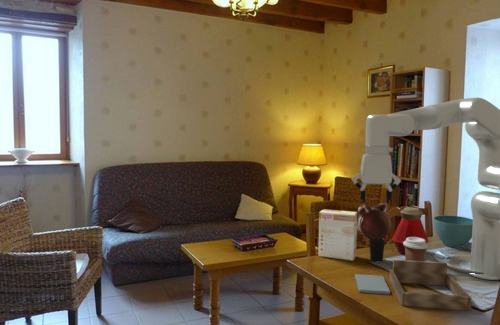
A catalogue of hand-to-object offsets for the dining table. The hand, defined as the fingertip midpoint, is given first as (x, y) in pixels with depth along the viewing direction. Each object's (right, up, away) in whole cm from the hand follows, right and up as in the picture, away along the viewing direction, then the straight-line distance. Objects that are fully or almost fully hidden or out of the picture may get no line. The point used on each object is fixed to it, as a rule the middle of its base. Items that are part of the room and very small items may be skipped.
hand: (375, 201), depth 137 cm
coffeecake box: (-6, -27, +34) cm, 44 cm away
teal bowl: (+53, -26, +51) cm, 78 cm away
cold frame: (+16, -30, -5) cm, 35 cm away
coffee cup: (+21, -29, +19) cm, 40 cm away
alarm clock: (0, -14, +2) cm, 14 cm away
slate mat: (0, -30, +3) cm, 30 cm away
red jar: (+28, -27, +39) cm, 54 cm away
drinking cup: (+10, -27, +29) cm, 41 cm away
